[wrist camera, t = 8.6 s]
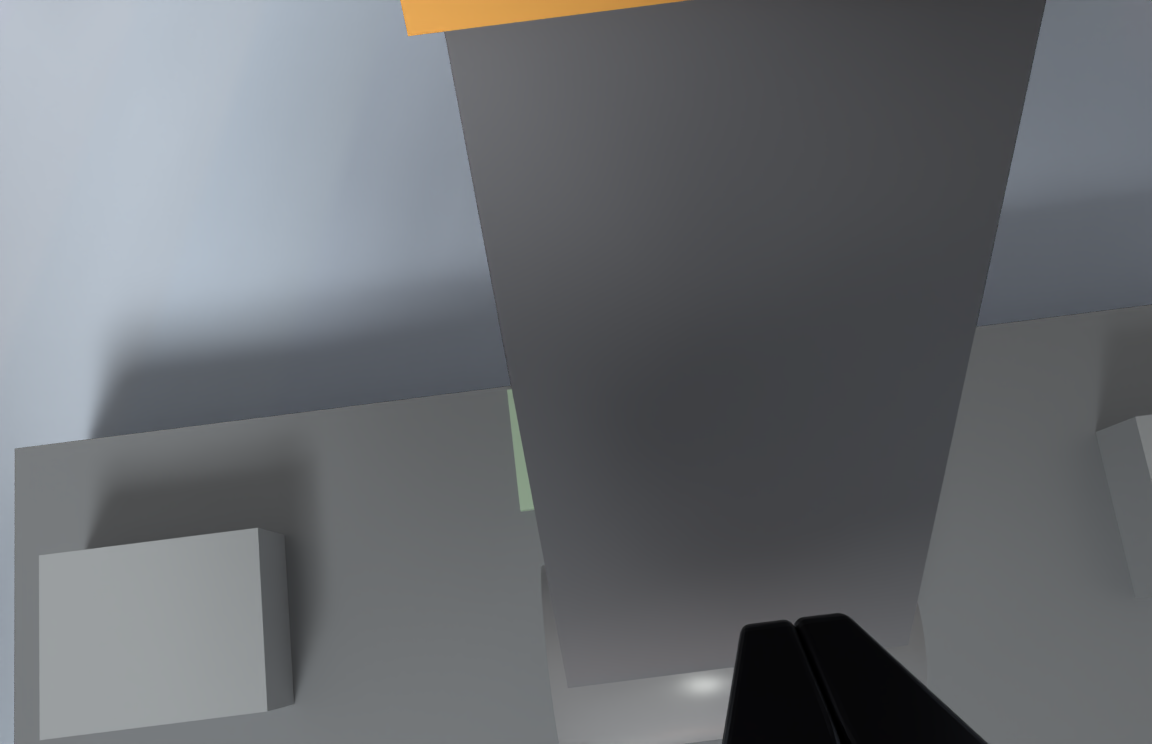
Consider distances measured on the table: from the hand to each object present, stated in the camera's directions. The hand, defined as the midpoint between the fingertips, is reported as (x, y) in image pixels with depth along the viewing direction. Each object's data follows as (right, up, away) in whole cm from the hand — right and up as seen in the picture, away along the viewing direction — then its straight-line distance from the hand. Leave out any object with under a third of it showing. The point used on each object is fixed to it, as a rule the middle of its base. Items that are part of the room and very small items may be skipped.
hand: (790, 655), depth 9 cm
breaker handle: (0, -2, +6) cm, 6 cm away
